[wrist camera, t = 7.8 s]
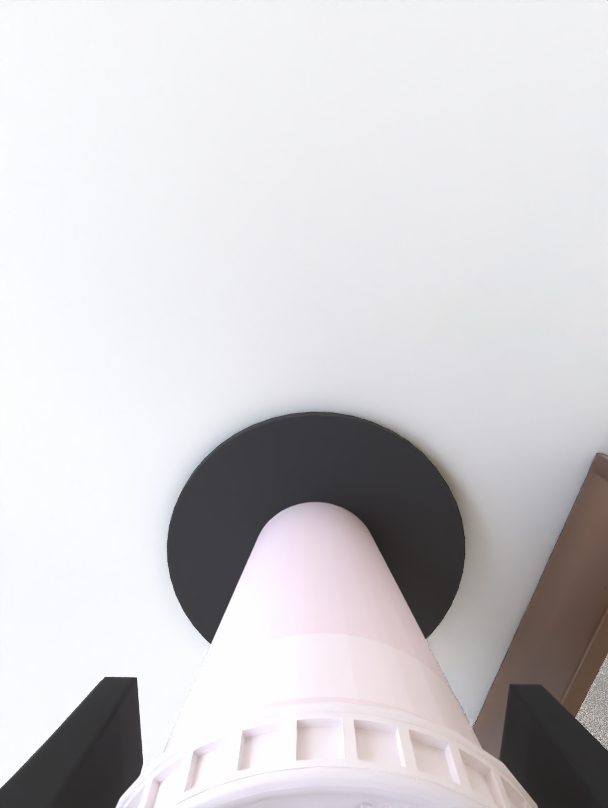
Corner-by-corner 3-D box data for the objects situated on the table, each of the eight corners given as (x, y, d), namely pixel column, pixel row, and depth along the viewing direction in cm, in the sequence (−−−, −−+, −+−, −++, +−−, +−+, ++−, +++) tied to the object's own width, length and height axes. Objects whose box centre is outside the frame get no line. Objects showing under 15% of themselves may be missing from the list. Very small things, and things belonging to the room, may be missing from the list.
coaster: (522, 523, 16) (528, 529, 16) (343, 718, 18) (344, 728, 18) (281, 349, 15) (280, 351, 14) (115, 580, 17) (110, 587, 16)
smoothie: (438, 625, 16) (1055, 2282, 3) (241, 667, 17) (-19, 2287, 3) (398, 435, 15) (1306, 2084, 1) (181, 486, 15) (-762, 2142, 2)
